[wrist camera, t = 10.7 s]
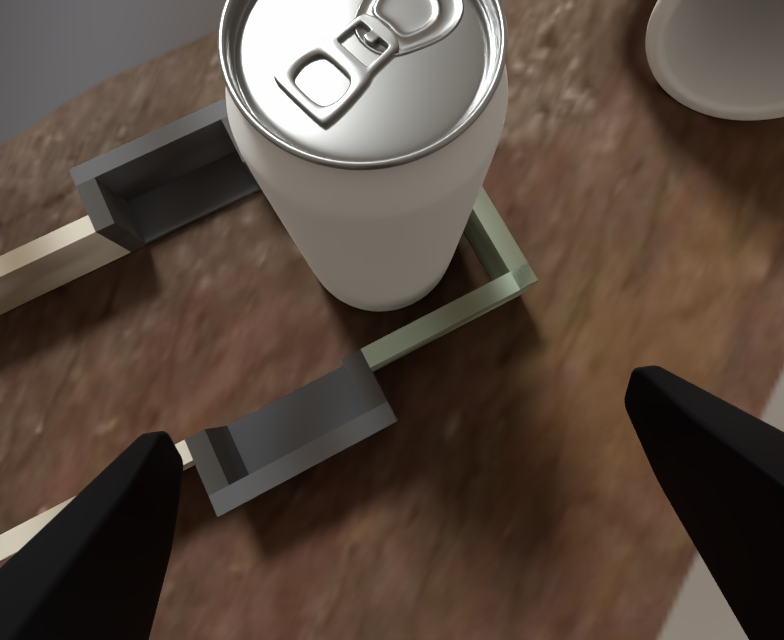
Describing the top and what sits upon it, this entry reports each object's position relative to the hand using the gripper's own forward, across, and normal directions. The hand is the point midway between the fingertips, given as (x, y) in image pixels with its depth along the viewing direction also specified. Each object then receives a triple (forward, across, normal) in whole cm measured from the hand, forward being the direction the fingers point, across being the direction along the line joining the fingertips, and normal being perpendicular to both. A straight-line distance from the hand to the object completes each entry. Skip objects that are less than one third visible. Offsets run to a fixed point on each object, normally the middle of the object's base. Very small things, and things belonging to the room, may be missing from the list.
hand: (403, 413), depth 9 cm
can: (+13, 0, +3) cm, 13 cm away
